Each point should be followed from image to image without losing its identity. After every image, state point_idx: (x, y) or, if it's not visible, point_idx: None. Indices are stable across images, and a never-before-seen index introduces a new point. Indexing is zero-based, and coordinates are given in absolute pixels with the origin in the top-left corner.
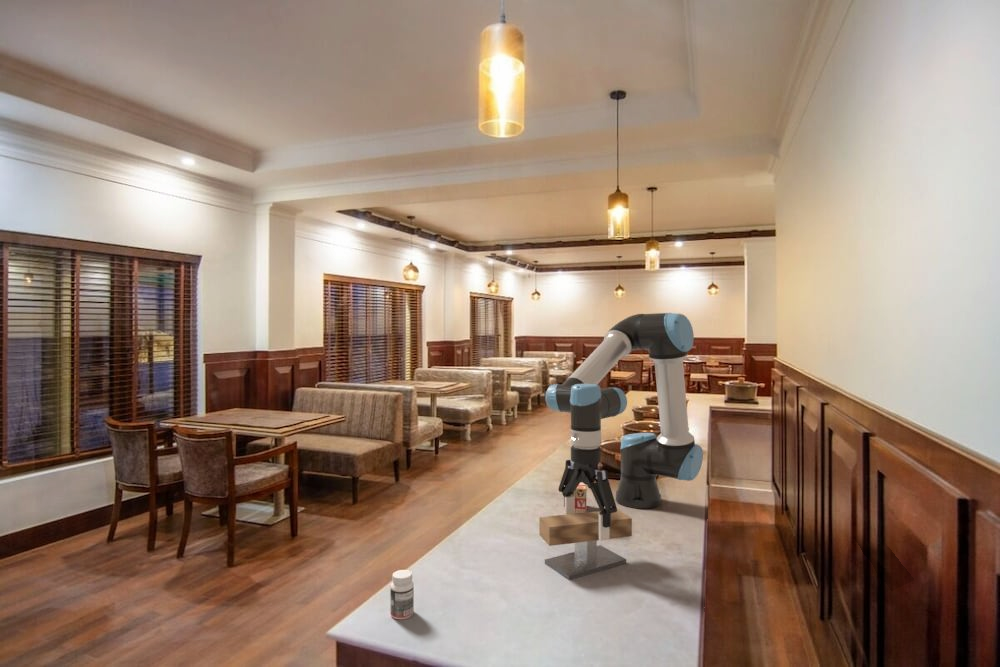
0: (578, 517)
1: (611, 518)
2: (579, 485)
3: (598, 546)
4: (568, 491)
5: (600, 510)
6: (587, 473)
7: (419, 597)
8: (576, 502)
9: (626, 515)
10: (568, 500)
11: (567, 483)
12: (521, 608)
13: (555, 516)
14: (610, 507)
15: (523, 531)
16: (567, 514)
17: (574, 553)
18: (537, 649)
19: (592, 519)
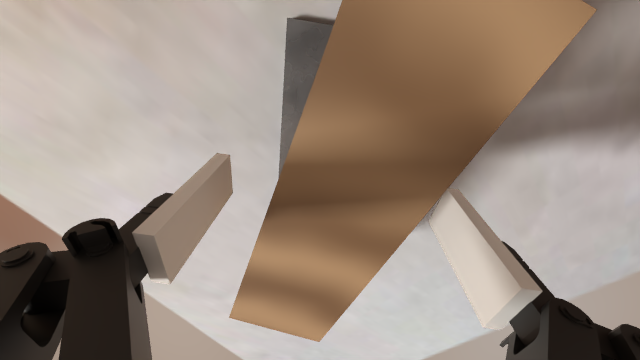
0: (311, 245)
1: (449, 140)
2: None
3: (292, 35)
4: (146, 326)
5: (508, 347)
6: None
7: (272, 349)
8: None
9: None
10: (178, 257)
11: (15, 354)
12: (374, 309)
13: (250, 288)
14: (603, 354)
15: (71, 126)
16: (254, 250)
17: (289, 143)
18: (448, 338)
19: (374, 222)
